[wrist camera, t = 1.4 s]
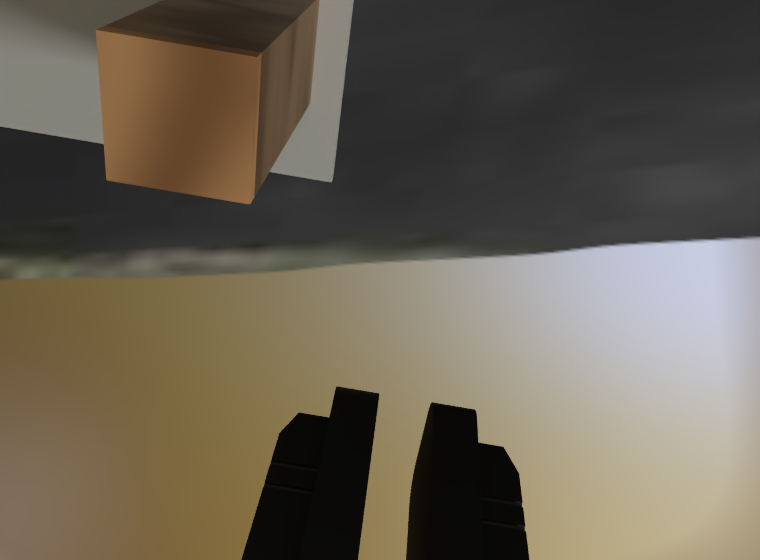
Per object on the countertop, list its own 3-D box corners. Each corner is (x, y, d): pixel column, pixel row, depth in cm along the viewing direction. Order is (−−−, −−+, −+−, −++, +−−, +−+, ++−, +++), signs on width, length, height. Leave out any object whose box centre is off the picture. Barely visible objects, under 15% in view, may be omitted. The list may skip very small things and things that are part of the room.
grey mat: (-76, 109, 36) (-82, 112, 36) (-138, -183, 29) (-146, -184, 29) (332, 178, 36) (331, 182, 36) (364, -98, 29) (363, -98, 29)
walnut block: (210, 86, 34) (106, 180, 23) (212, -23, 31) (95, 29, 21) (310, 103, 34) (250, 204, 23) (320, -4, 31) (257, 56, 21)
